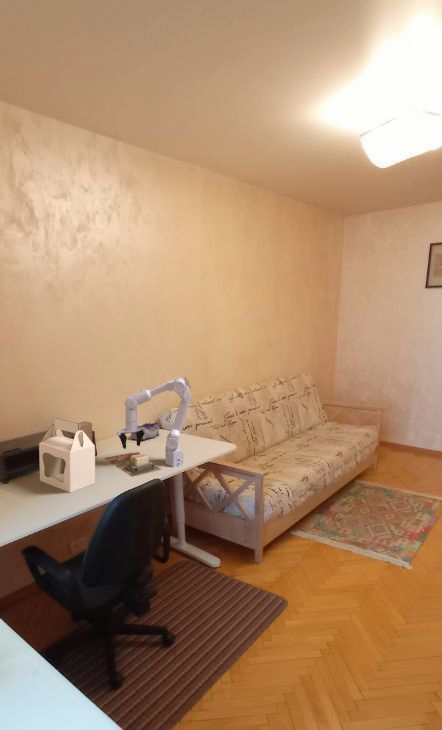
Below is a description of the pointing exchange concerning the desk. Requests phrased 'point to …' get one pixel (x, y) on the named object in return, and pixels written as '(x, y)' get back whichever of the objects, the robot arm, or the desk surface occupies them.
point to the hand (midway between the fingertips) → (131, 446)
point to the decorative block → (85, 429)
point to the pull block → (134, 459)
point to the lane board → (132, 466)
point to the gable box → (67, 457)
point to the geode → (148, 431)
